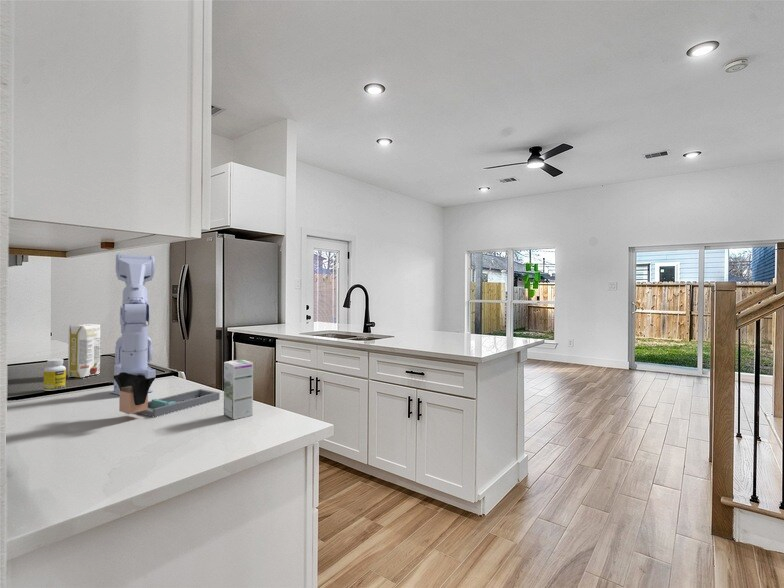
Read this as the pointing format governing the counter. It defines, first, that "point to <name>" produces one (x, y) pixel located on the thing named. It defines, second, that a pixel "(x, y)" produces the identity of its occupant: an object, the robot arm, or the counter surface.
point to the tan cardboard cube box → (130, 401)
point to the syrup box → (238, 389)
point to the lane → (205, 397)
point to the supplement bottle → (54, 374)
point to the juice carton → (84, 350)
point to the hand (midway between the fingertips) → (133, 402)
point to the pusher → (160, 403)
